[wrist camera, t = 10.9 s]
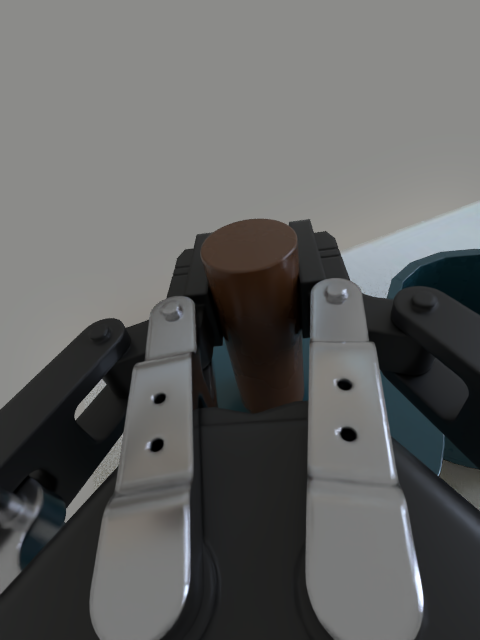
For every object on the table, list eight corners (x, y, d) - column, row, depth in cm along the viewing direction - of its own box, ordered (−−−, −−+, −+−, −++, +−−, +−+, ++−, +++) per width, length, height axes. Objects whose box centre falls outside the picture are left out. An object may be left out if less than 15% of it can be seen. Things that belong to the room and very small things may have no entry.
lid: (329, 282, 20) (334, 131, 14) (527, 490, 11) (757, 301, 5) (124, 355, 18) (37, 217, 12) (154, 671, 9) (-103, 683, 3)
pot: (460, 314, 29) (495, 231, 23) (608, 427, 20) (717, 340, 15) (342, 360, 27) (350, 283, 21) (451, 502, 19) (508, 435, 13)
